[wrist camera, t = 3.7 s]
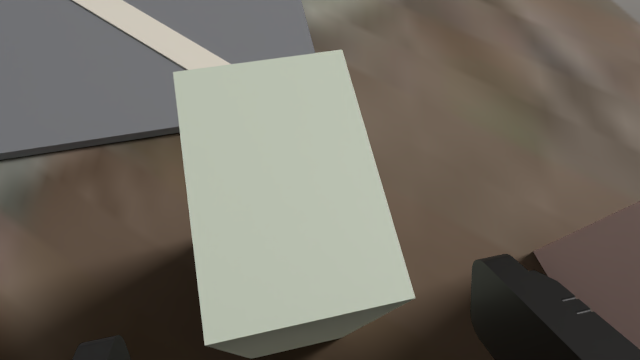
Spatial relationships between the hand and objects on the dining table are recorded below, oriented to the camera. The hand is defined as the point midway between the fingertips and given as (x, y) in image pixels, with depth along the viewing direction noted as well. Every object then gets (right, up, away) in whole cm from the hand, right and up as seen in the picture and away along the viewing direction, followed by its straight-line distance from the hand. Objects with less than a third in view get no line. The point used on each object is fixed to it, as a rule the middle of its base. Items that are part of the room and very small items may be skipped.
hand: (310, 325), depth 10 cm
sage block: (-1, -1, +10) cm, 10 cm away
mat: (-11, +12, +15) cm, 22 cm away
